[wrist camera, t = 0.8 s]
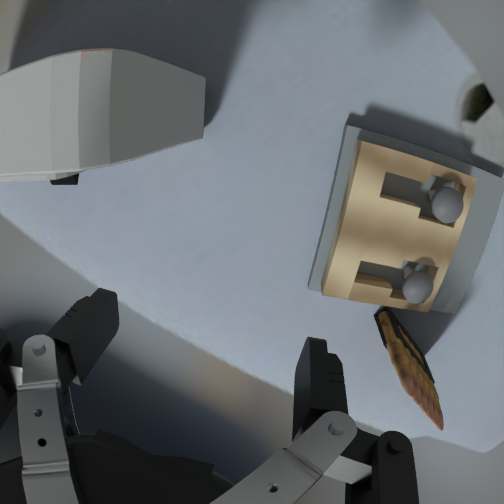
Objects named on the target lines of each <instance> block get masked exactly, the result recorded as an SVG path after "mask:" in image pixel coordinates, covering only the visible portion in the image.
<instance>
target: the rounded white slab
mask: <svg viewBox="0 0 504 504" xmlns="http://www.w3.org/2000/svg"><path fill="white" fill-rule="evenodd" d="M205 88H206V78H205V77H203V76H200V75H198V74H195V73H193V72H190V71H188V70H185V69H183V68H180V67H177V66H175V65H172V64H169V63H166V62H164V61H161V60H158V59H155V58H152V57H149V56H146V55H143V54H140V53H137V52H134V51H129V50H122V49H115V48H95V49H80V50H75V51H69V52H64V53H60V54H55V55H51V56H48V57H45V58H42V59H39V60H36V61H33V62H30V63H27V64H25V65H22V66H19V67H17V68H14V69H11V70H9V71H6V72H4V73H2V74H0V182H18V181H48V180H50V182H51V183H52V185H77V184H78V177H79V173H81V172H83V171H86V170H91V169H97V168H104V167H109V166H113V165H117V164H121V163H125V162H129V161H132V160H135V159H138V158H141V157H144V156H147V155H150V154H153V153H156V152H159V151H162V150H165V149H168V148H172V147H175V146H178V145H182V144H185V143H188V142H192V141H195V140H199V139H202V138H203V132H204V108H205Z"/></svg>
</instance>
